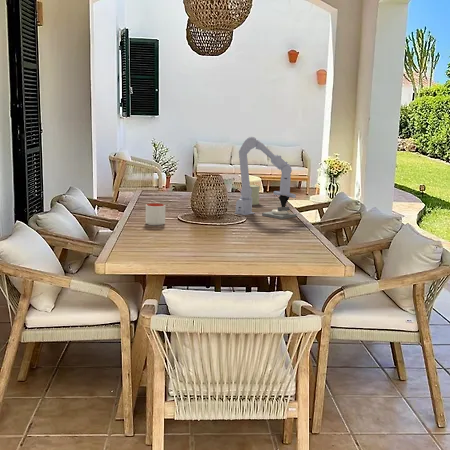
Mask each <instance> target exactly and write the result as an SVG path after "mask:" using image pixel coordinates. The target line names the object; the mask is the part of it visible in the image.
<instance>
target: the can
mask: <svg viewBox="0 0 450 450" xmlns="http://www.w3.org/2000/svg"><path fill="white" fill-rule="evenodd" d="M250 187H251V189H252V195H251V197H252V206H255V205H259V204H260V185H255V184H250Z"/></svg>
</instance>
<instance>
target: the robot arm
mask: <svg viewBox="0 0 450 450" xmlns="http://www.w3.org/2000/svg"><path fill="white" fill-rule="evenodd" d="M254 148H255V150H258V151H260V152H262V153H263V154H265V156H267V157H268V158H269V159H270V163H271V164H272V165H274V166H275V167H276V168H277V170H279V171H280V172H281V174H280V175H281V177H280V183H279V185H280V186H279V190H274V191H273V195H275V196H276V195H277V196H278V199H279V201H280V203H281V207H287V203H288V201H289V199H290V198H292V199H296V198H297V197H296V196H297V194H294V193H291V180H292V178H291V177H292V171H293V170H292V166H291V165H290V164H289V163H288V162H287V161H285V159H283V157H282V156H281V155H279V154H274V153H273V152H272V151H271V150H270V149H269V148H268V147H267V146H266V145H265V144H264V143H263V142H261V141H260V140H259V139H257V138H256V137H254V136H248V138H246V139H245V140H244V141H243V143H242V144H241V147H240V149H239V150H238V158H239V167H240V177H241V178H240V180H241V190H240V196H239V198H238V199H237V200H236V202H235V211H234V214H236V215H237V214H238V215H242V216H247V215H253V214H255V213H256V212H253V205H252V197H251V195H252V189H251V187H250V185H251V182H250V172H249V162H248V154H249V153H250V152H251V150H252V149H254Z"/></svg>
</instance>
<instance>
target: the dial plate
mask: <svg viewBox="0 0 450 450" xmlns="http://www.w3.org/2000/svg"><path fill="white" fill-rule="evenodd" d="M261 214H262V216H264V217H269V218H272V219H273V218H274V219H279V220H284V219H285V220H286V219H290V218H296V217H297V213H294V212H293V213H292V212H288V211H287V214H285V215H278V214H272V210H271V211H267V212H266V211H264V212H262V213H261Z"/></svg>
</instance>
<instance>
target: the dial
mask: <svg viewBox="0 0 450 450" xmlns="http://www.w3.org/2000/svg"><path fill="white" fill-rule="evenodd" d="M271 211H272V214H278V215H285V214H287V212H288V211H290V206H285V207H282V206H278V207H277V209H275V208H274V209H271Z"/></svg>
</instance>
